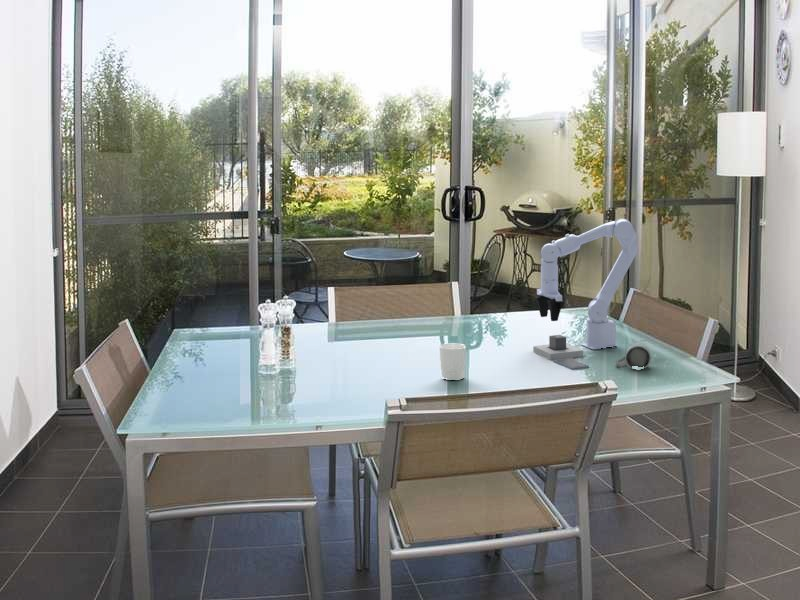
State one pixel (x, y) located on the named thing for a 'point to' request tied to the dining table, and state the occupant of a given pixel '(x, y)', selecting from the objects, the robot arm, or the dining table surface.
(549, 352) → the outlet plate
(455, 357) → the white cup
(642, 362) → the ceramic mug
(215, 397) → the dining table surface
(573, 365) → the phone
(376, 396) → the dining table surface
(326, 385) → the dining table surface
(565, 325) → the dining table surface
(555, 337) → the block
